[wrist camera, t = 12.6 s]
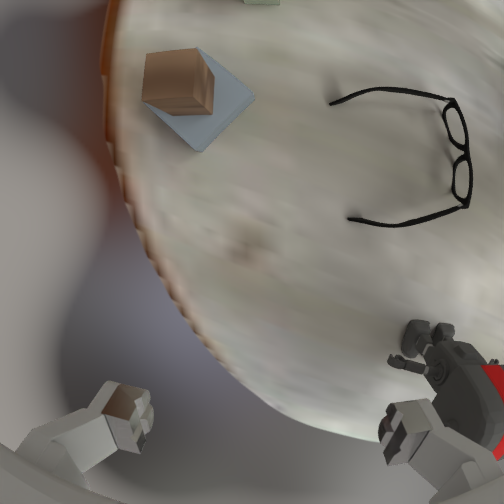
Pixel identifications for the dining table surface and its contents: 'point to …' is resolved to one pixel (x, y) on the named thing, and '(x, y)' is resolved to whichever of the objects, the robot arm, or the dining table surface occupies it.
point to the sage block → (263, 2)
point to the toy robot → (458, 383)
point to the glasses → (466, 156)
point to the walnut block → (178, 83)
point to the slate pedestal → (224, 109)
